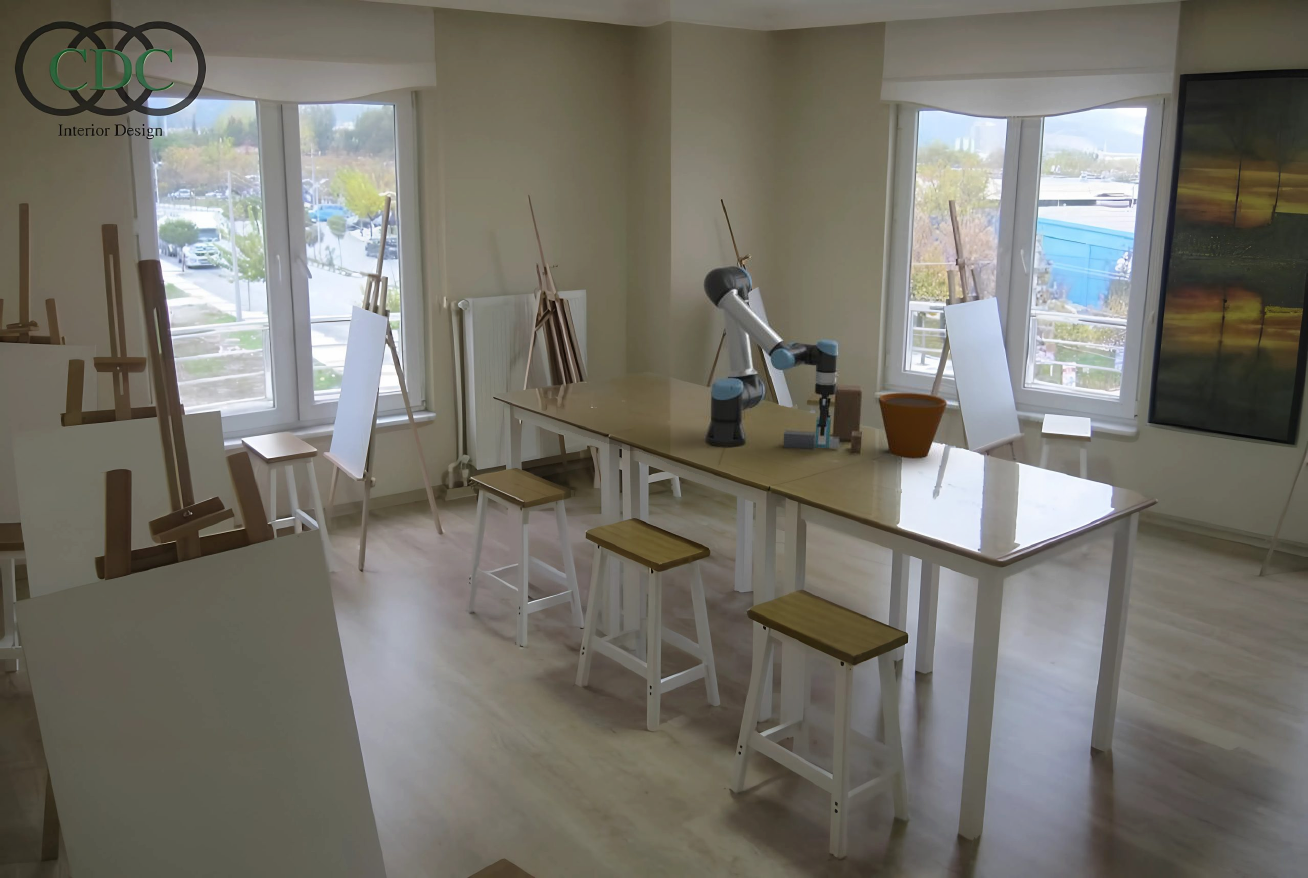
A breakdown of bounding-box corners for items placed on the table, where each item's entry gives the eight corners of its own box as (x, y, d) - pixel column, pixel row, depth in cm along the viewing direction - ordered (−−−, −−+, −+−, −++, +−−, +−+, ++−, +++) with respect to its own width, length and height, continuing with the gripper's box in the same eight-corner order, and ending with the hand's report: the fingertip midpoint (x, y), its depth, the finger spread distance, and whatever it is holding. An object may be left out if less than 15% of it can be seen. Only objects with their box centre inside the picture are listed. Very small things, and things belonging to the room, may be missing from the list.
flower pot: (953, 460, 373) (958, 405, 368) (889, 462, 369) (893, 407, 364) (925, 444, 396) (930, 392, 391) (865, 445, 392) (869, 393, 387)
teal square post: (786, 445, 387) (787, 417, 384) (787, 442, 391) (788, 415, 388) (838, 448, 383) (840, 420, 380) (838, 445, 387) (840, 418, 385)
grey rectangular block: (783, 447, 387) (784, 433, 385) (784, 444, 392) (785, 430, 391) (813, 449, 384) (814, 435, 383) (814, 446, 390) (815, 431, 388)
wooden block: (858, 442, 397) (862, 390, 392) (832, 440, 399) (835, 388, 394) (859, 435, 407) (862, 385, 402) (833, 434, 409) (836, 384, 404)
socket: (850, 453, 381) (851, 435, 379) (851, 447, 388) (852, 430, 387) (860, 454, 380) (861, 436, 378) (860, 448, 387) (862, 431, 386)
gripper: (834, 389, 368) (831, 448, 373) (837, 377, 392) (834, 432, 397) (813, 388, 369) (810, 447, 374) (817, 376, 393) (814, 431, 398)
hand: (822, 439), depth 386 cm, fingers open, 13 cm apart
